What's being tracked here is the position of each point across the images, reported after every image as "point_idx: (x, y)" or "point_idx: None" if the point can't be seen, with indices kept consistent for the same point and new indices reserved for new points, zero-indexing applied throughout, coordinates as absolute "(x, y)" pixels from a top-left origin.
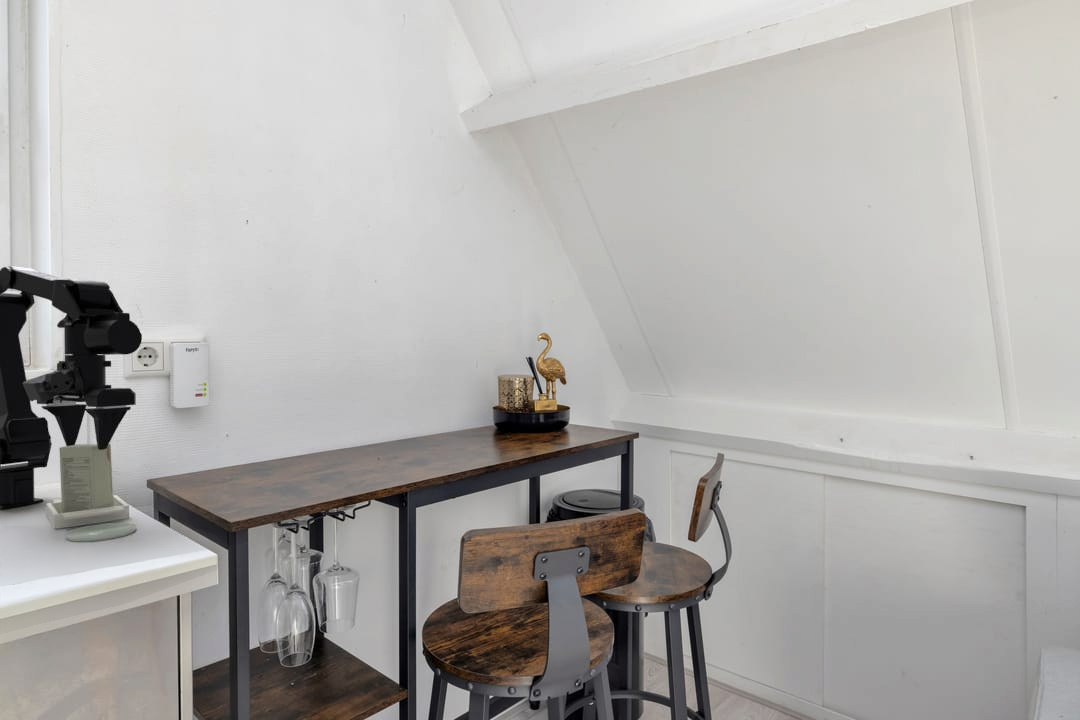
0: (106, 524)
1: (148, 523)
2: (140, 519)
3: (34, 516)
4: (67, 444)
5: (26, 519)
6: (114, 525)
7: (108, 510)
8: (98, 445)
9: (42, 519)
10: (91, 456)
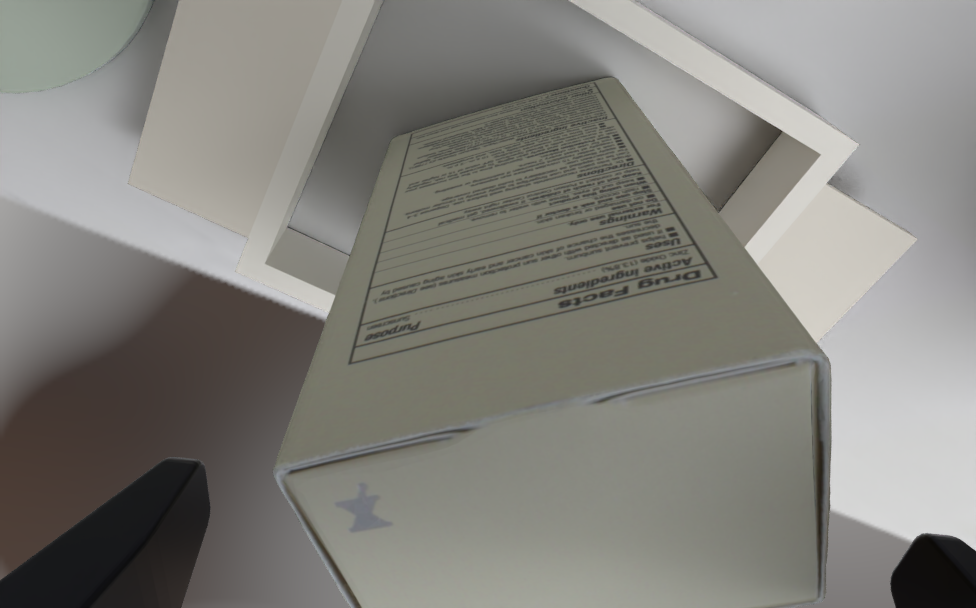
0: (93, 13)
1: (32, 187)
2: (181, 240)
3: (910, 94)
4: (941, 549)
5: (894, 12)
6: (14, 10)
7: (183, 120)
8: (139, 488)
9: (776, 50)
10: (322, 378)
